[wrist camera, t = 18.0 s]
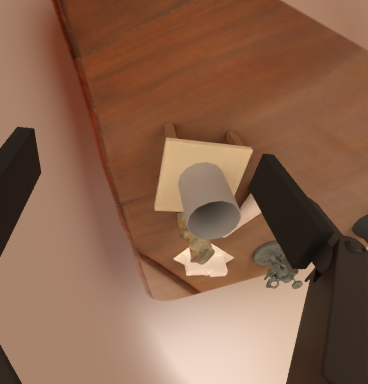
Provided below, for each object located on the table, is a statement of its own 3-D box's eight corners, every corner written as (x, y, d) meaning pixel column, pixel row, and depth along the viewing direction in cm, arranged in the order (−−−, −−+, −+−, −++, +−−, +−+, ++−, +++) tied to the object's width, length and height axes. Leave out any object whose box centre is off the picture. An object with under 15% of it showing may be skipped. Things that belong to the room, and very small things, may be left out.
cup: (225, 160, 45) (244, 197, 37) (222, 196, 50) (237, 235, 42) (177, 165, 44) (186, 204, 36) (178, 201, 49) (186, 242, 41)
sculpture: (207, 203, 62) (223, 254, 50) (189, 222, 65) (200, 274, 54) (187, 194, 59) (200, 246, 48) (170, 214, 62) (178, 267, 51)
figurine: (265, 238, 74) (283, 275, 65) (294, 243, 78) (315, 279, 68) (246, 261, 80) (261, 297, 70) (274, 265, 83) (291, 300, 74)
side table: (162, 119, 47) (166, 140, 41) (238, 129, 51) (253, 150, 44) (152, 184, 56) (154, 210, 50) (217, 189, 60) (227, 214, 53)
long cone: (204, 223, 69) (255, 175, 58) (221, 228, 72) (273, 183, 61) (209, 242, 65) (265, 194, 54) (227, 246, 68) (284, 202, 58)
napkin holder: (172, 259, 74) (174, 276, 69) (201, 237, 70) (206, 254, 65) (206, 276, 82) (210, 292, 77) (234, 257, 77) (240, 274, 73)
